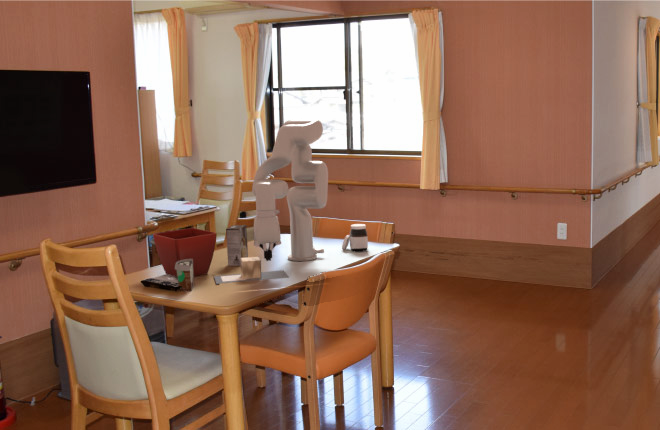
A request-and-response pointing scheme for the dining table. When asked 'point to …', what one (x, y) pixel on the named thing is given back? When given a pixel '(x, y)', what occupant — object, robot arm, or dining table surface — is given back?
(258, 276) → the oak cube
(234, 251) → the coffee box
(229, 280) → the topple mat
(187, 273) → the food container
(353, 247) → the spread jar
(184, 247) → the plant pot
